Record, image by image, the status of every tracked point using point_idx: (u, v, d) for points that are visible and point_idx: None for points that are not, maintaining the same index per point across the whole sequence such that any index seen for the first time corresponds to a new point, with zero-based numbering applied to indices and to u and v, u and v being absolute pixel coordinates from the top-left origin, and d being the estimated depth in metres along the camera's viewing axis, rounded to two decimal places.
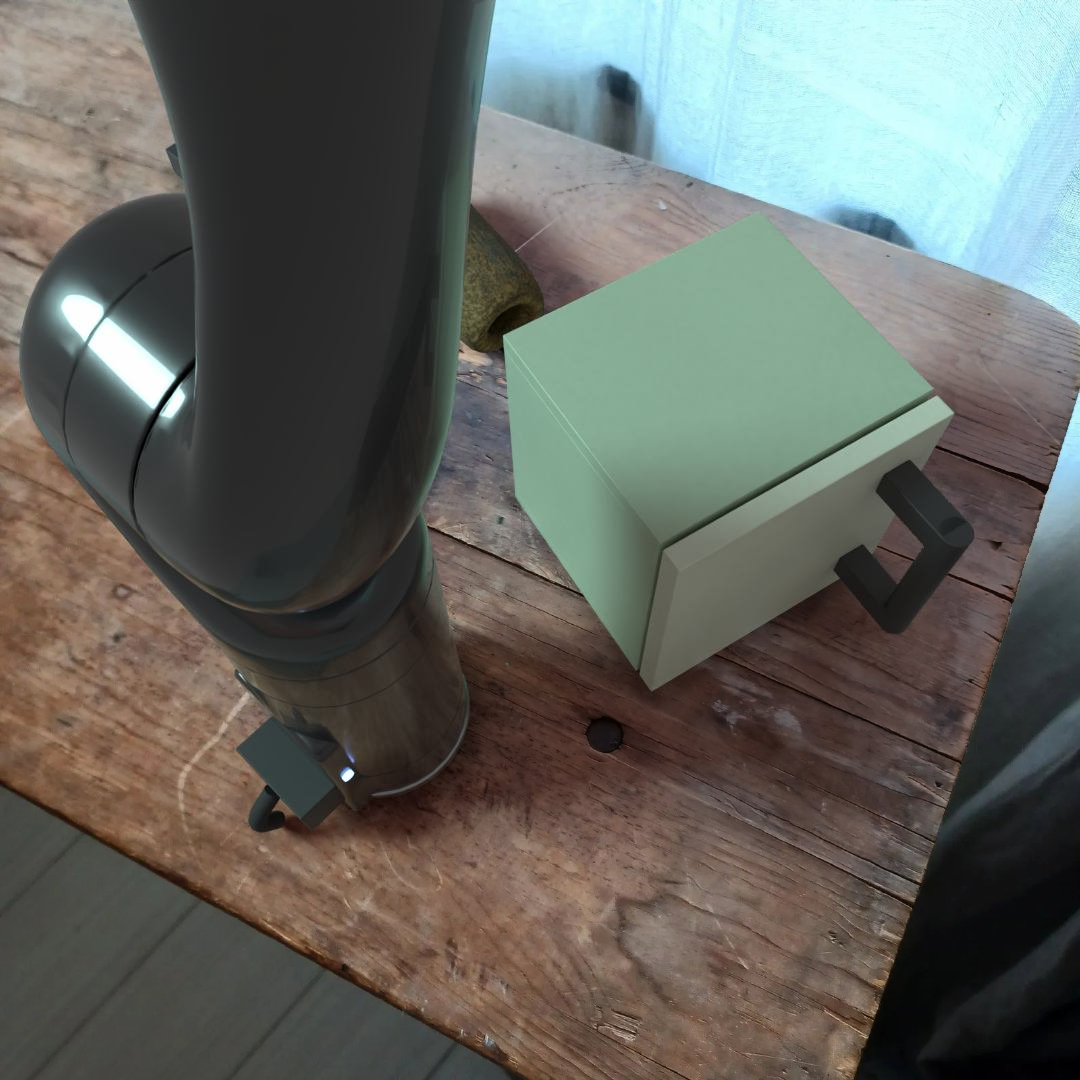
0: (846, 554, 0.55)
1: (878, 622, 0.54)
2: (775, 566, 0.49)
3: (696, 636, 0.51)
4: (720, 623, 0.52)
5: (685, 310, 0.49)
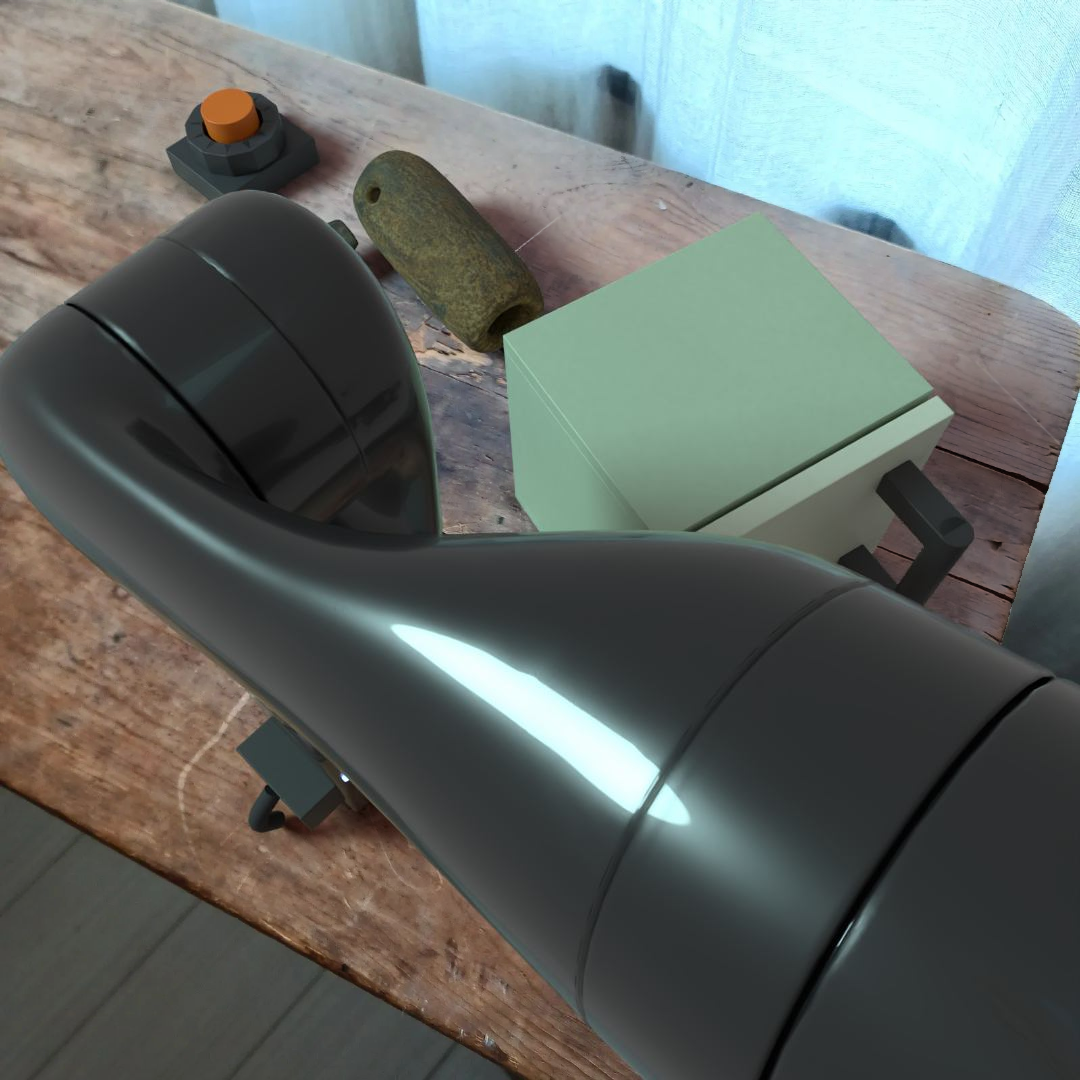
0: (846, 554, 0.55)
1: None
2: None
3: None
4: None
5: (685, 310, 0.49)
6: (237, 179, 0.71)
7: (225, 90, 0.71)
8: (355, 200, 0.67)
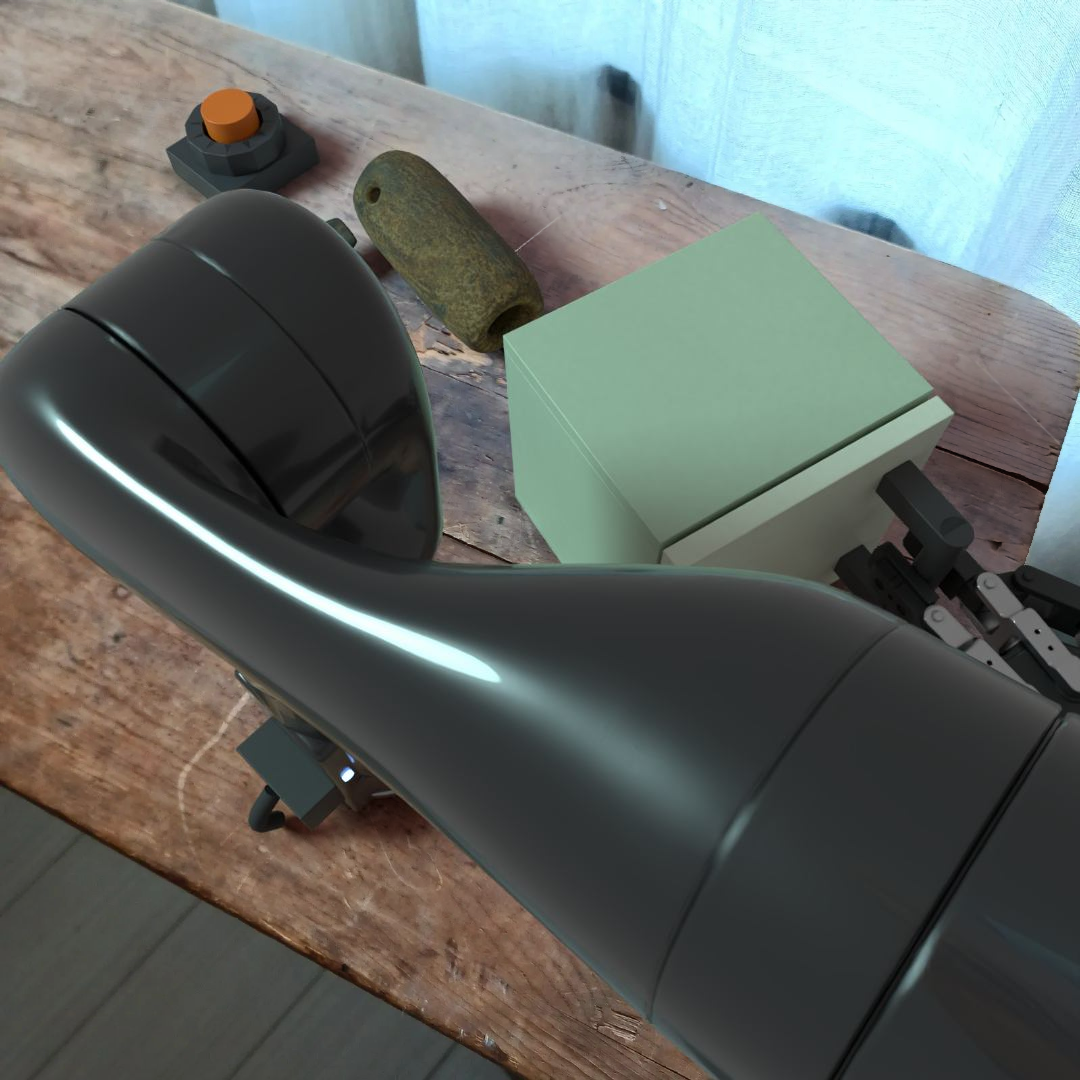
0: (846, 554, 0.55)
1: None
2: (775, 566, 0.49)
3: None
4: None
5: (685, 310, 0.49)
6: (237, 179, 0.71)
7: (225, 90, 0.71)
8: (355, 200, 0.67)
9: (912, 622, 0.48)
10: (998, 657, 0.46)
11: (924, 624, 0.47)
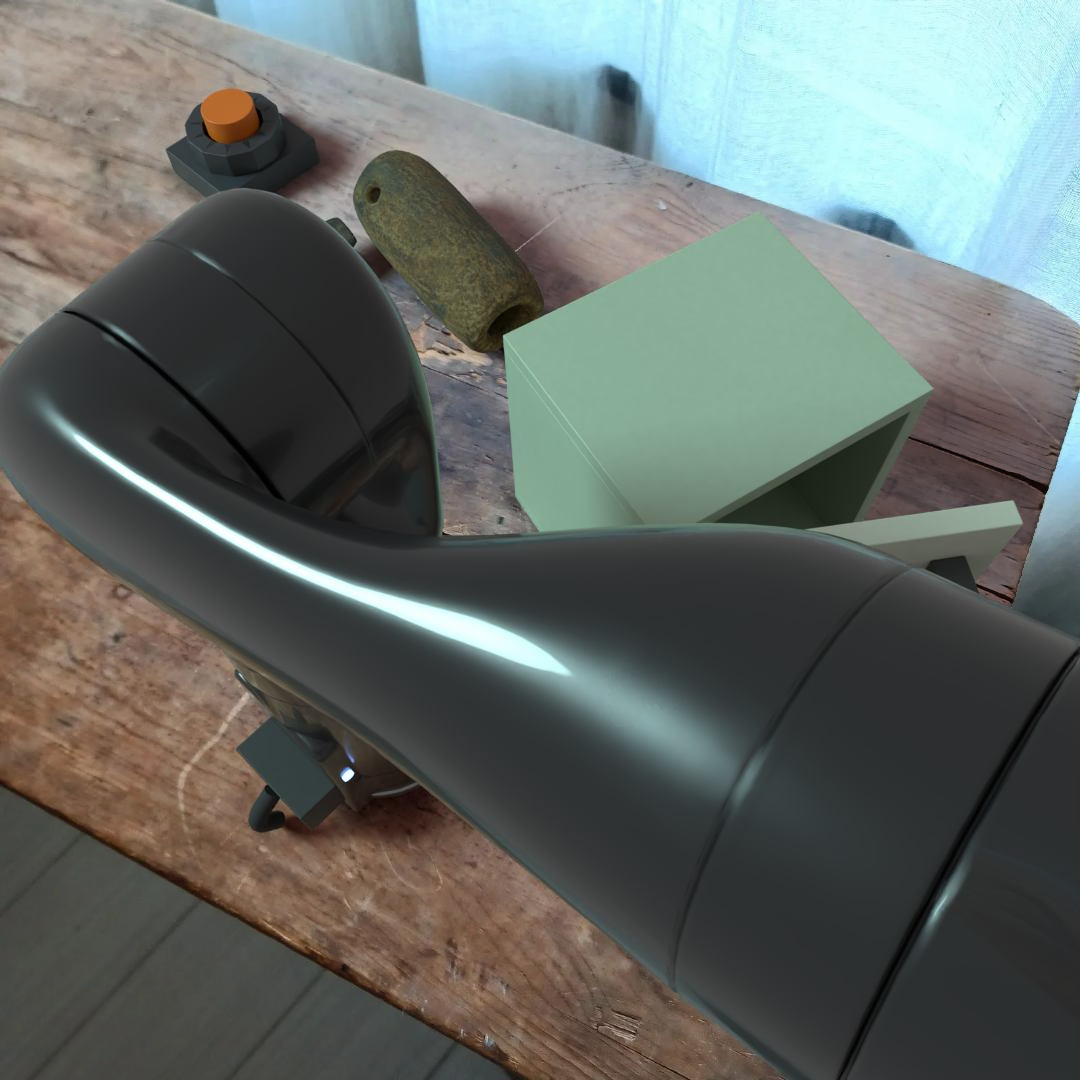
0: None
1: None
2: None
3: None
4: None
5: (685, 310, 0.49)
6: (237, 179, 0.71)
7: (225, 90, 0.71)
8: (355, 200, 0.67)
9: None
10: None
11: None
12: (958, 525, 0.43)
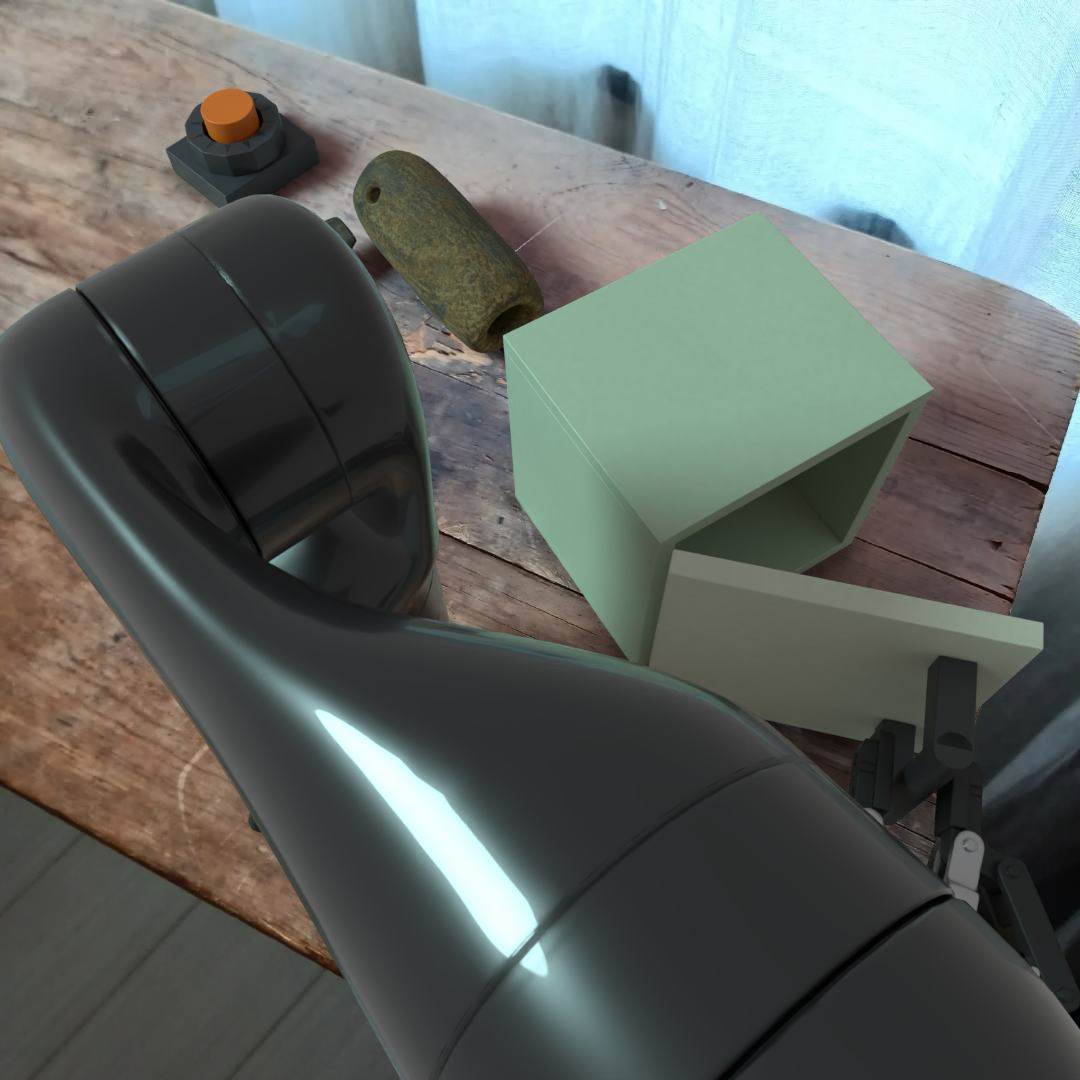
0: (893, 720, 0.50)
1: None
2: (793, 662, 0.47)
3: (695, 670, 0.51)
4: (725, 677, 0.51)
5: (685, 310, 0.49)
6: (237, 179, 0.71)
7: (225, 90, 0.71)
8: (355, 200, 0.67)
9: None
10: None
11: None
12: (973, 627, 0.41)
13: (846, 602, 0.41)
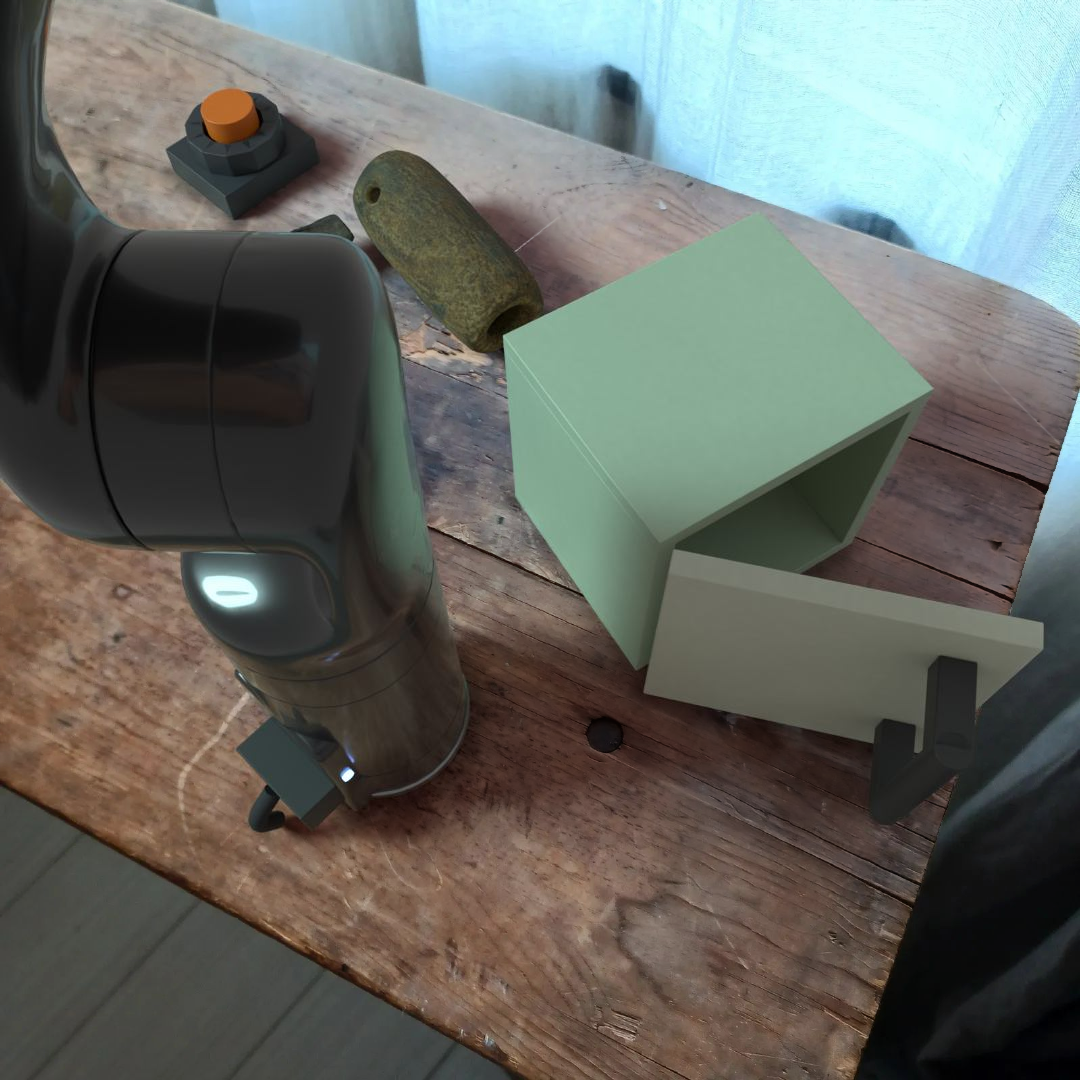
0: (893, 720, 0.50)
1: (869, 798, 0.50)
2: (793, 662, 0.47)
3: (695, 670, 0.51)
4: (725, 677, 0.51)
5: (685, 310, 0.49)
6: (237, 179, 0.71)
7: (225, 90, 0.71)
8: (355, 200, 0.67)
9: None
10: None
11: None
12: (973, 627, 0.41)
13: (846, 602, 0.41)
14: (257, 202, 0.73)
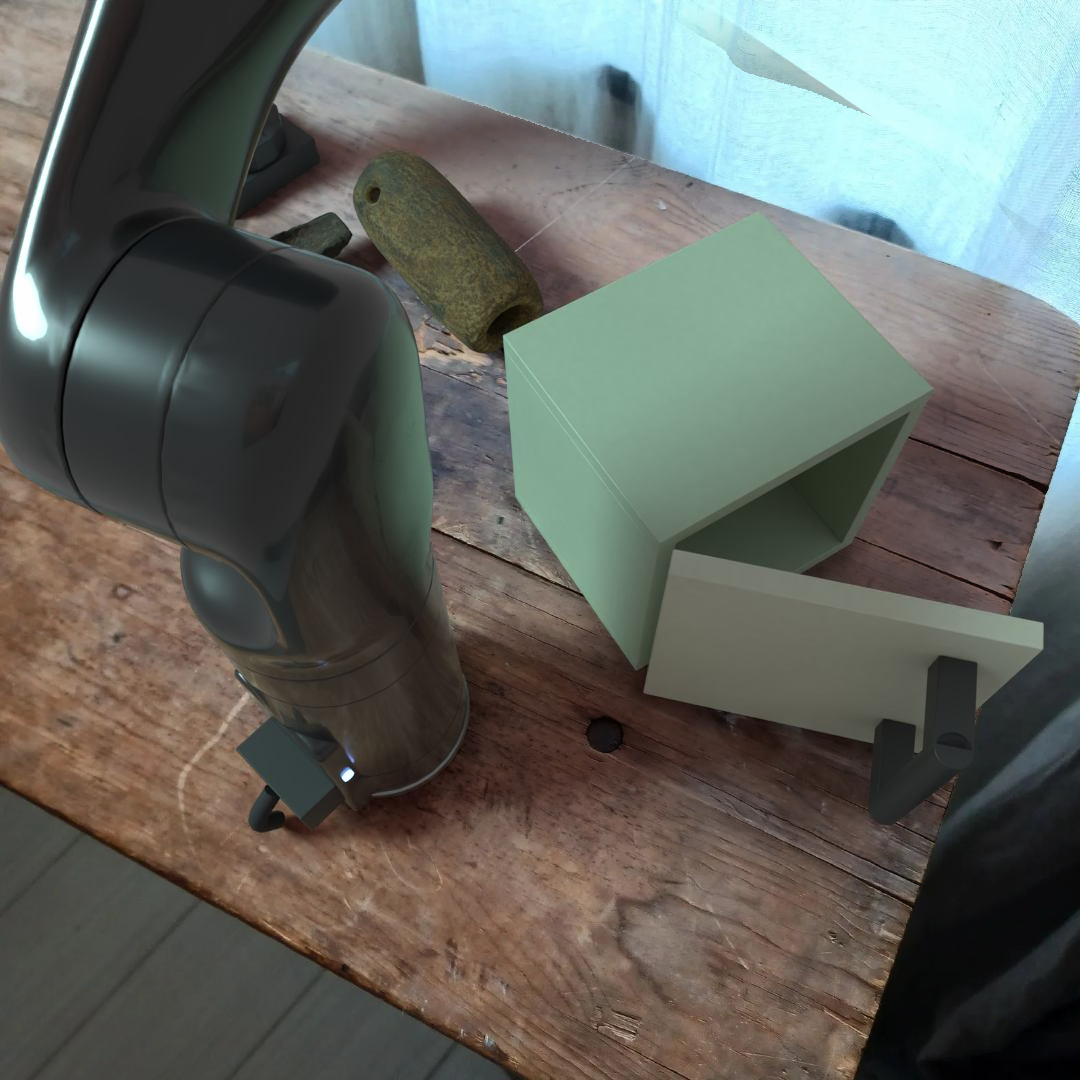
0: (893, 720, 0.50)
1: (869, 798, 0.50)
2: (793, 662, 0.47)
3: (695, 670, 0.51)
4: (725, 677, 0.51)
5: (685, 310, 0.49)
6: None
7: None
8: (355, 200, 0.67)
9: None
10: None
11: None
12: (973, 627, 0.41)
13: (846, 602, 0.41)
14: (257, 202, 0.73)
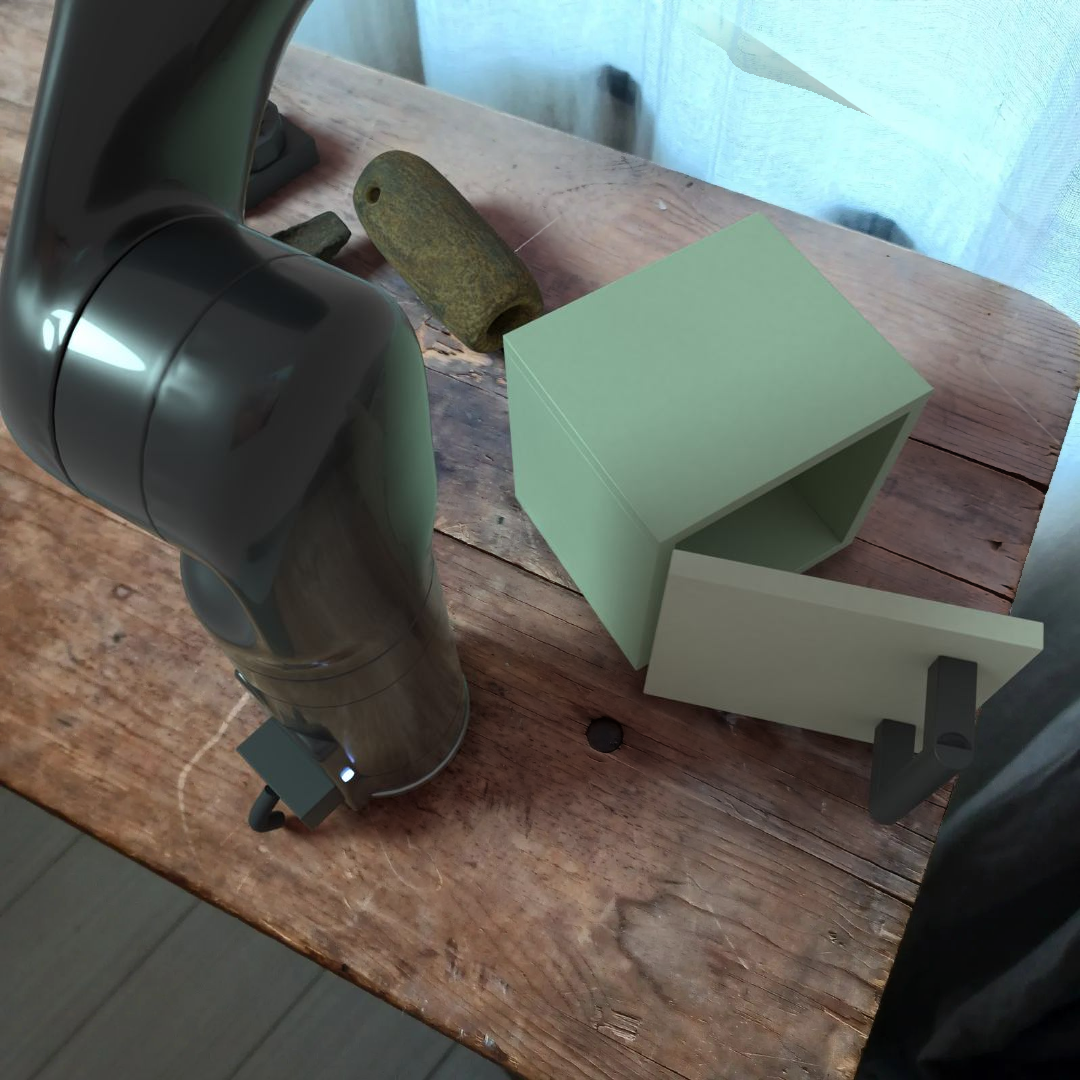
0: (893, 720, 0.50)
1: (869, 798, 0.50)
2: (793, 662, 0.47)
3: (695, 670, 0.51)
4: (725, 677, 0.51)
5: (685, 310, 0.49)
6: None
7: None
8: (355, 200, 0.67)
9: None
10: None
11: None
12: (973, 627, 0.41)
13: (846, 602, 0.41)
14: (257, 202, 0.73)
